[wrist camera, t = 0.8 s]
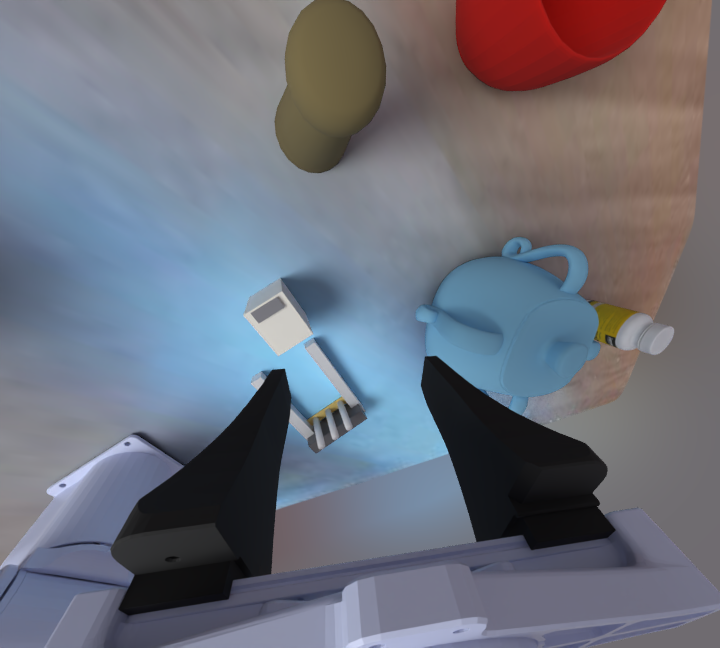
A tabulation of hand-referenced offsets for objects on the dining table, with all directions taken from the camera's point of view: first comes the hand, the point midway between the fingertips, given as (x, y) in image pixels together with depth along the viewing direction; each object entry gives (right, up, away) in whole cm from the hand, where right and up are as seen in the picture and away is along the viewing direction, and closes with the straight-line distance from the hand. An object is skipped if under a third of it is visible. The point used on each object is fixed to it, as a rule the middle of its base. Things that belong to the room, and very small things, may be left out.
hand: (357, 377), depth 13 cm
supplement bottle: (+35, +4, +28) cm, 45 cm away
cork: (-4, +19, +9) cm, 21 cm away
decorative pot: (+14, +4, +21) cm, 25 cm away
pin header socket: (-5, -6, +18) cm, 20 cm away
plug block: (-8, +5, +13) cm, 16 cm away
